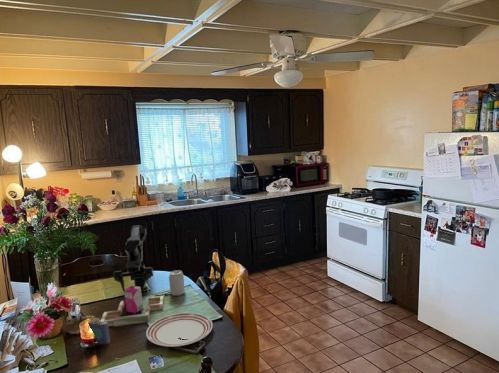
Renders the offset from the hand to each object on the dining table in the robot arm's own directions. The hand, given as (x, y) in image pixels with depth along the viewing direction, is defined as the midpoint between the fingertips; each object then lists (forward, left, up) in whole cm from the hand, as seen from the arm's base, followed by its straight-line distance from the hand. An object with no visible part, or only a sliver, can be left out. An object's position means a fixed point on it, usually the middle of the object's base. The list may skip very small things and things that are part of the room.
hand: (133, 290), depth 182 cm
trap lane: (+4, -2, -10) cm, 11 cm away
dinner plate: (+38, +3, -10) cm, 39 cm away
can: (+1, +23, -10) cm, 25 cm away
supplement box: (+2, -1, -10) cm, 10 cm away
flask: (+19, -24, -10) cm, 32 cm away
